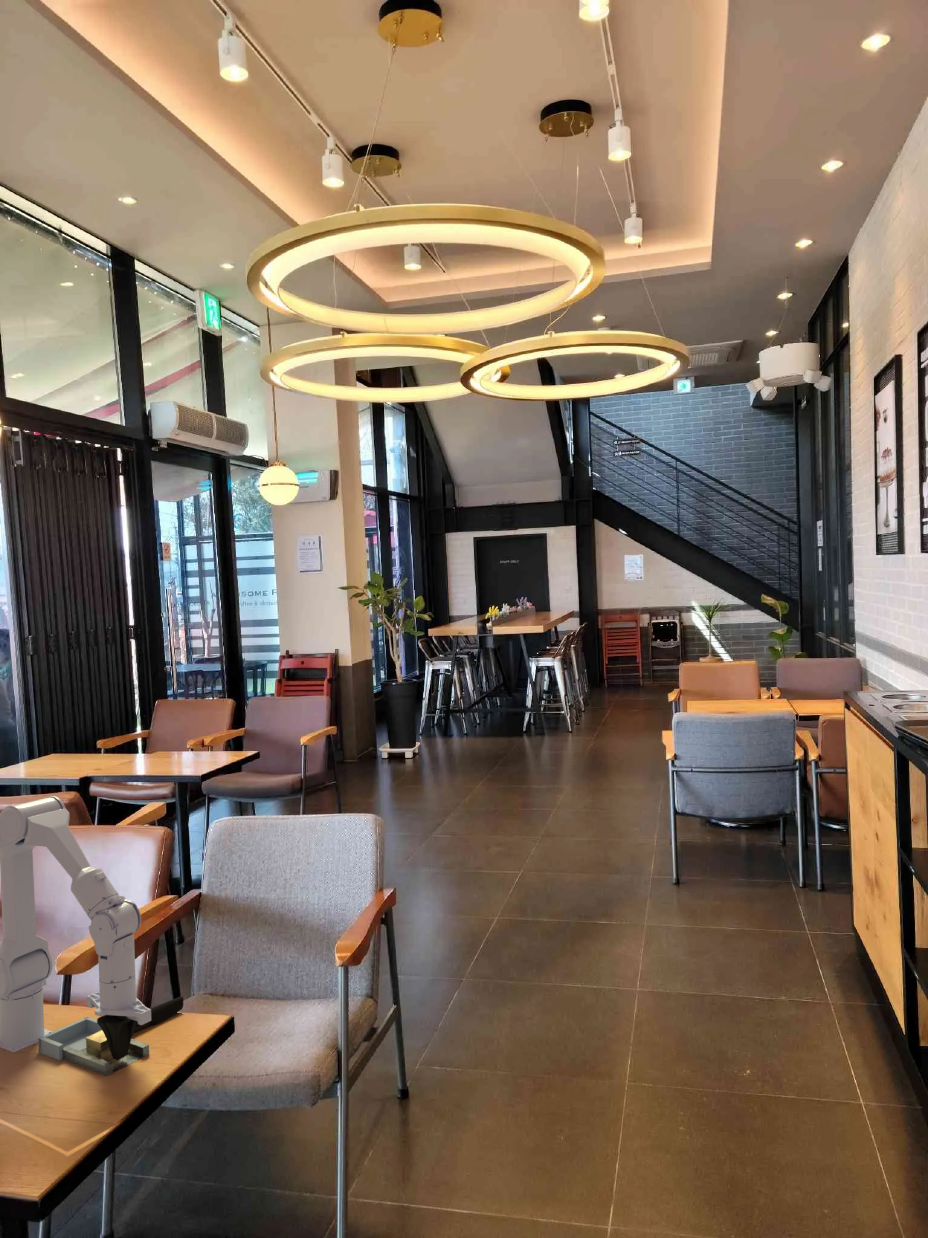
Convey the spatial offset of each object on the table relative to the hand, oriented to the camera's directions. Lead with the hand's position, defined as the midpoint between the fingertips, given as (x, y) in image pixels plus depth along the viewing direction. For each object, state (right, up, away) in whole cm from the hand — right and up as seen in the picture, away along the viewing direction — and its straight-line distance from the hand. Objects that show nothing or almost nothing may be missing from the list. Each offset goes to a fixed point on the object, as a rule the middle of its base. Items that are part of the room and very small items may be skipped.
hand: (120, 1057), depth 151 cm
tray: (-11, -2, +7) cm, 13 cm away
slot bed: (-3, -2, +2) cm, 4 cm away
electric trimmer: (-1, -1, +14) cm, 14 cm away
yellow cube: (-4, -1, +2) cm, 4 cm away
